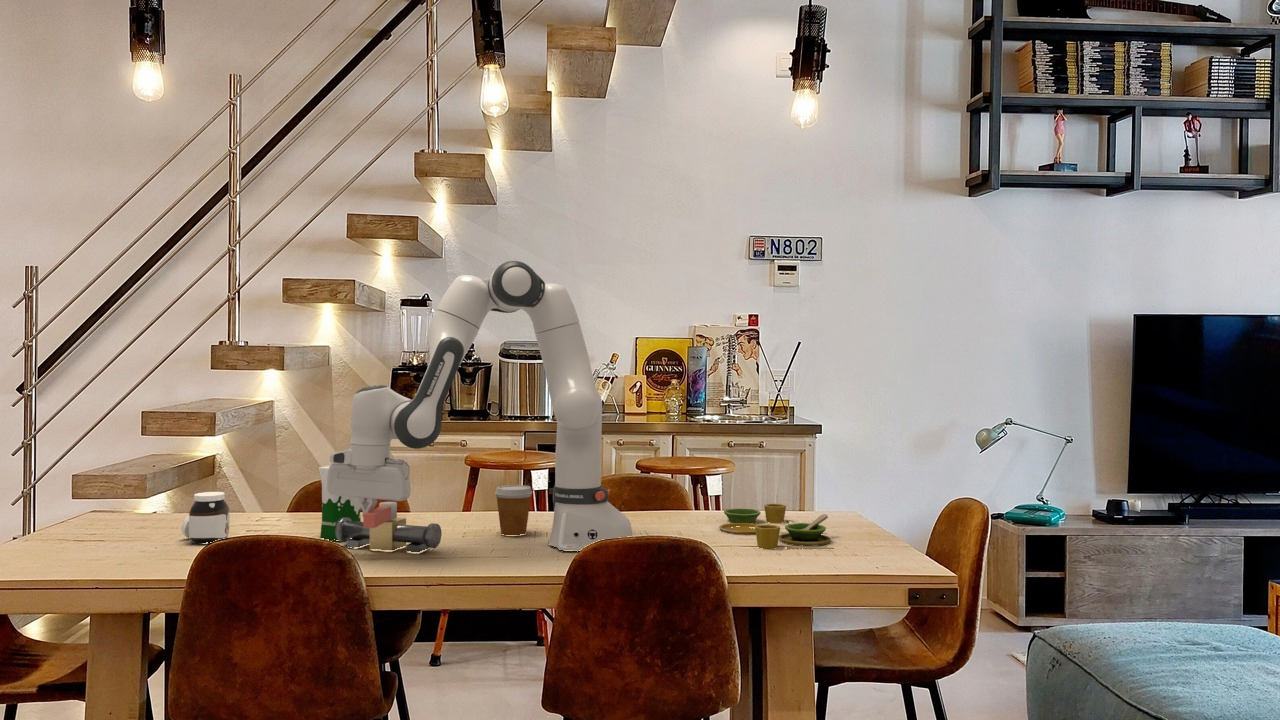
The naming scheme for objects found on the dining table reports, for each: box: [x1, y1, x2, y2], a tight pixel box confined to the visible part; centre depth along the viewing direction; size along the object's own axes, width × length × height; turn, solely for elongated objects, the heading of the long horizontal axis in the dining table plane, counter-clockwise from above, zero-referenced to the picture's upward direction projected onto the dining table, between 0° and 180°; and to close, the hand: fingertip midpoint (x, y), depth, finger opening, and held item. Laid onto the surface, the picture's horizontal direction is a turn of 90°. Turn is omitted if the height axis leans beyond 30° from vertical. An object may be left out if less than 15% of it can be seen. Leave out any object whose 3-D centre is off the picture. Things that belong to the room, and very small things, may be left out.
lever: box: [362, 501, 398, 528], centre depth 219 cm, size 14×4×4 cm, turn 175°
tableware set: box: [718, 503, 835, 550], centre depth 246 cm, size 41×28×6 cm
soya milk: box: [318, 464, 362, 543], centre depth 237 cm, size 9×9×20 cm
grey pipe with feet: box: [335, 517, 442, 552], centre depth 225 cm, size 25×6×7 cm, turn 72°
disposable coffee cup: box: [494, 484, 533, 535], centre depth 243 cm, size 10×10×12 cm
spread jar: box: [180, 491, 231, 544], centre depth 234 cm, size 12×11×12 cm
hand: (367, 517), depth 217 cm, fingers closed, pressing on lever
